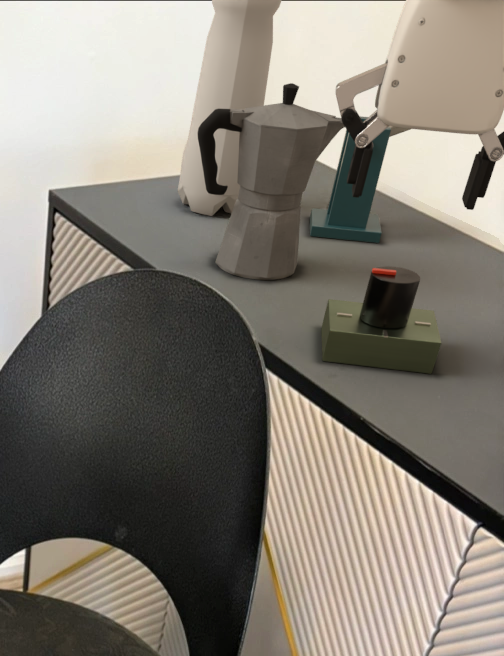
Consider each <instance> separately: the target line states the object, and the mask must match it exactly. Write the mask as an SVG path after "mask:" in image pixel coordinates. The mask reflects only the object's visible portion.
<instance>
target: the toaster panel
mask: <svg viewBox="0 0 504 656" xmlns="http://www.w3.org/2000/svg"><path fill="white" fill-rule="evenodd" d="M362 305H363V302H359V301H348V300H340V299H331V298H329V299H328V300H327V304H326V307H325V311H324V316H323V320H322V324H321V328H320V329H321V335H320V336H321V358H322V359H321V361H322V362H326V363H327V362H328V363H336V364H343V365H344V364H345V365H353V366H354V365H355V366H363V367H370V368H380V369H388V370H396V371H404V372H411V373H412V372H413V373H419V374H420V373H421V374H428V375H429V374H430V375H431V374H433V371H434V367H435V364H436V363H437V362H436V361H437V359H438V356H439V352H440V349H441V346H442V339H441V334H440V331H439V327H438V323H437V316H436V314H435V311H434V310H431V309H423V308H422V309H421V308H415V307H412V309H411V313H410V316H409V319H408V323H407V324H406V325H405V326H404V327H401V328H392V329H390V328H380V327H376V326H372V325H369V324H367V323H365V322H364V321H362V320H361V319H360V312H361V309H362Z"/></svg>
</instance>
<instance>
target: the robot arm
mask: <svg viewBox="0 0 504 656" xmlns="http://www.w3.org/2000/svg"><path fill="white" fill-rule="evenodd" d="M376 87H377V90H376V94H375V101H374V108H376V110H375V111H373V112H372V113H371V114H370V115H369V116H367V117H368V118H367V119H366V120H365V121H364V122H363V121H362V119H361V118H360V116H361V115H359V113H358V111H357V110H356V107H355V102H354V99H355V97H356V96H358V95H359V94H361V93H364V92H366V91H369V90H371V89H373V88H376ZM334 90H335V91H334V92H335V97H336V101H337V107H338V110H339V114H340V118H341V119H342V123H343V124H344V126H345V127H344V129H345V130H346V129H347V131H348V132H349V134H350V136H351V137H352V139H353V140H354V142H355V148H354V152H353V156H352V160H351V164H350V168H349V172H348V177H347V184H353V186H352V195H353V197H356V198H359V196H362V192H363V188H364V184H365V181H366V177H367V173H368V169H369V165H370V161H371V157H372V153H373V148H372V141H373V140H374V139H375V138H376V137H377V136H378V135H380V134H381V133H382V132H383V131H384V130H385V129H386V128H388V127H389V126H393V127H400V128H409V129H410V130H419V131H428V132H429V131H430V132H439V133H441V132H442V133H450V134H460V135H462V134H463V135H478V137H479V140H480V142H481V144H482V146H481V149H480V150H478V153H475V155H474V158H473V162H472V165H471V168H470V171H469V175H468V177H467V180H466V184H465V186H464V191H463V194H462V197H461V200H462V203H463V206H464V208H466V210H471V211H474V209H475V207H476V203H477V201H478V198H481V199H484V198H485V196H486V193H487V190H488V188H489V184H490V182H491V178H492V176H493V172H494V170H495V166H496V163H497V162H498V161H500V160H501V159H502V158H503V157H504V131H502V132H501V133H499V134H498V133H497V132H496V130H495V129H496V128H497V126H498V125H499V123H500V121H501V119H502V117H503V113H504V0H405V1H404V5H403V7H402V10H401V12H400V15H399V17H398V20H397V23H396V25H395V29H394V32H393V35H392V38H391V41H390V44H389V48H388V51H387V54H386V58H385V61H384V63H383V64H380V65H378V66H375V67H373V68H371V69H367V70H366V71H363V72H361V73H359V74H356V75H354V76H352V77H349V78H347V79H344V80H342V81H340V82H338V83H337V84H336V86H335V89H334Z"/></svg>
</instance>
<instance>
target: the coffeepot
mask: <svg viewBox="0 0 504 656" xmlns="http://www.w3.org/2000/svg"><path fill="white" fill-rule="evenodd" d="M299 88H300V85H298V84H296V83H293V82H292V83H291V82H290V83H286V84H283V86H282V102H277V103H271V104H264V106H257V107H250V108H245V110H244V109H215V110H214V111H213V112H212V113H211V114H210V115H209V116H208V117H207V118H206V119H205V120H204V121H203V122H202V123H201V125H200V126H199V128H198V133H197V134H198V142H199V147H200V153H201V160H202V166H203V172H204V179H205V185H206V190H207V192H208V193H209V194H213V195H224V194H225V192H226V191H227V188H228V186H223V185H219V184H217V181H216V178H217V172H218V166H217V163H216V160H215V148H216V144H215V139H214V132H215V131H216V130H217V129H226V130H230V131H236V132H240V135H239V158H238V180H237V183H238V184H239V185H240V189H239V194H238V199H237V200H236V202H235V205H234V208H233V211H232V214H231V213H230V217H229V220H228V223H227V226H226V229H225V232H224V236H223V238H222V241H221V245H220V246H219V250H218V253H217V256H216V259H215V264H216V265H217V266H218V267H219V268H220V270H222V271H224V272H226V273H228V274H231V275H233V276H235V277H236V276H237V277H240V278H245V279H250V280H260V281H261V280H262V281H269V280H270V281H272V280H280V279H281V280H282V279H286V278H288V277H290V276H292V275H294V273H295V272H296V268H297V265H298V259H299V246H300V245H299V244H300V243H299V242H300V227H301V212H302V211H301V209H302V207H301V206H300V205H301V203H302V197H303V193H304V192H305V191H306V188H307V186H308V183H309V180H310V177H311V174H312V172H313V169H314V167H315V163H316V161H317V160H318V158H319V157H320V156H321V154H322V153H323V152H324V151H325V149H326V148H327V147H328V146H329V145H330V143H331V141H332V140H333V139H335V137H336V136H337V134H338V133H339V132H341V131H342V129H345V126H344V124H343V123H342V119H341V117H337V116H336V115H333V114H329V113H324V112H320V111H316V110H311V109H309V108H307V107H304V106H300V105H298V104H295V103H294V102H295V99H296V97H297V94H298V91H299Z"/></svg>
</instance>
